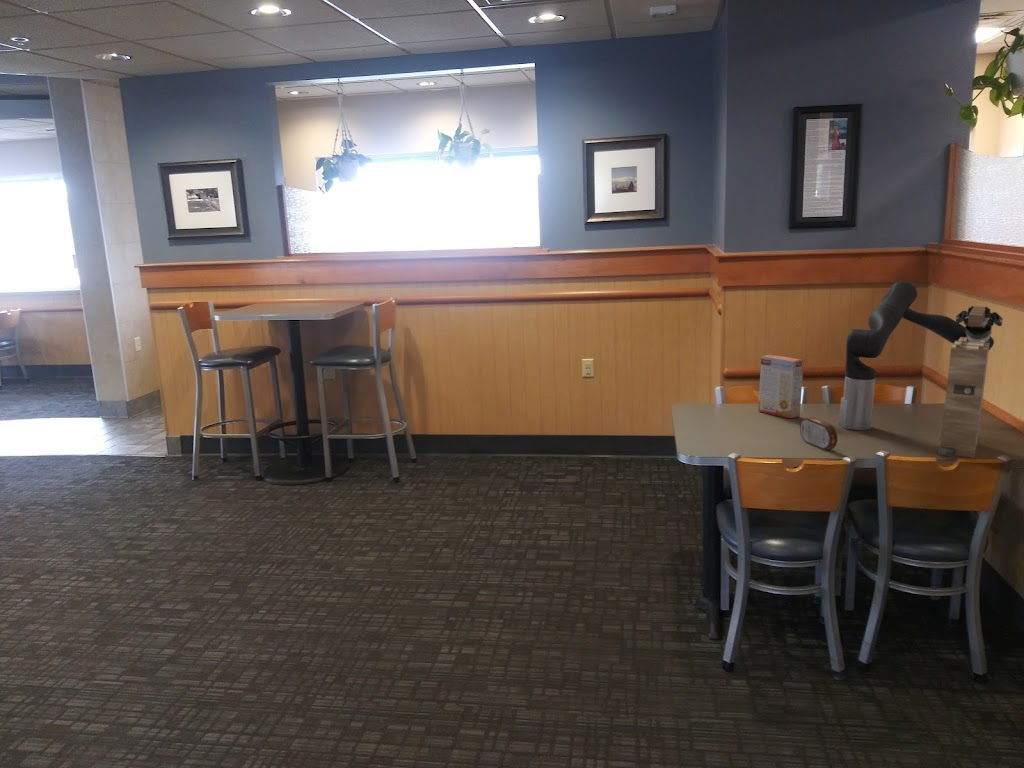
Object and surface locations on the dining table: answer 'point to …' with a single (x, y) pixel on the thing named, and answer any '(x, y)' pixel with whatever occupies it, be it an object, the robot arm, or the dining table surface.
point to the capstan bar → (976, 316)
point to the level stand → (964, 398)
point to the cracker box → (780, 386)
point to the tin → (818, 433)
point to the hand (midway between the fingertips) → (979, 309)
